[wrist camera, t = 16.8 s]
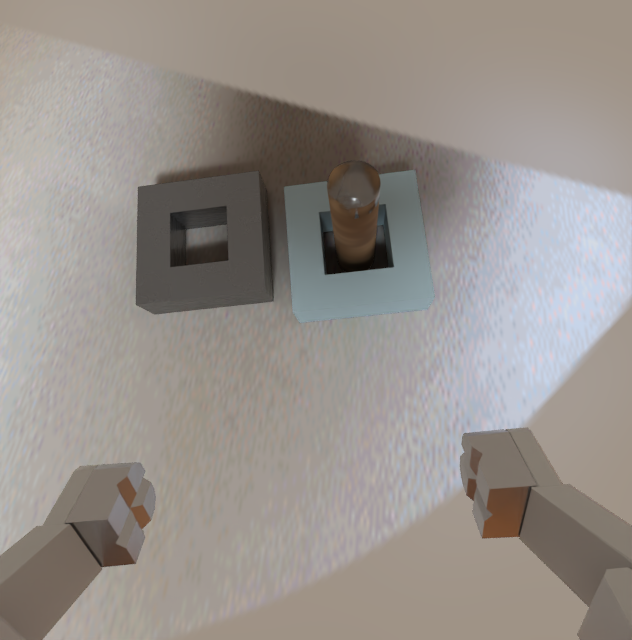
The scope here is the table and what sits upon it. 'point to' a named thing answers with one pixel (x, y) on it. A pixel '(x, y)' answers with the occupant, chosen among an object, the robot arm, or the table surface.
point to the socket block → (194, 212)
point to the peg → (354, 213)
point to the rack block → (361, 286)
